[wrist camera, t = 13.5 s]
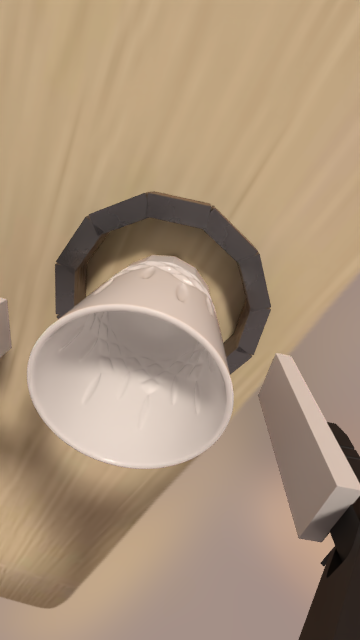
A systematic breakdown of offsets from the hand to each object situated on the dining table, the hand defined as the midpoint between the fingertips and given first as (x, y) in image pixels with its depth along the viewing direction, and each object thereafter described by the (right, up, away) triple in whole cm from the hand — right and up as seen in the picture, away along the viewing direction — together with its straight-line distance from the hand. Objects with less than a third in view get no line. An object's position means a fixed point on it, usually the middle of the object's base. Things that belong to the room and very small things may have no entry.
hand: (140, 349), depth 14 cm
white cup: (+1, +3, +6) cm, 7 cm away
